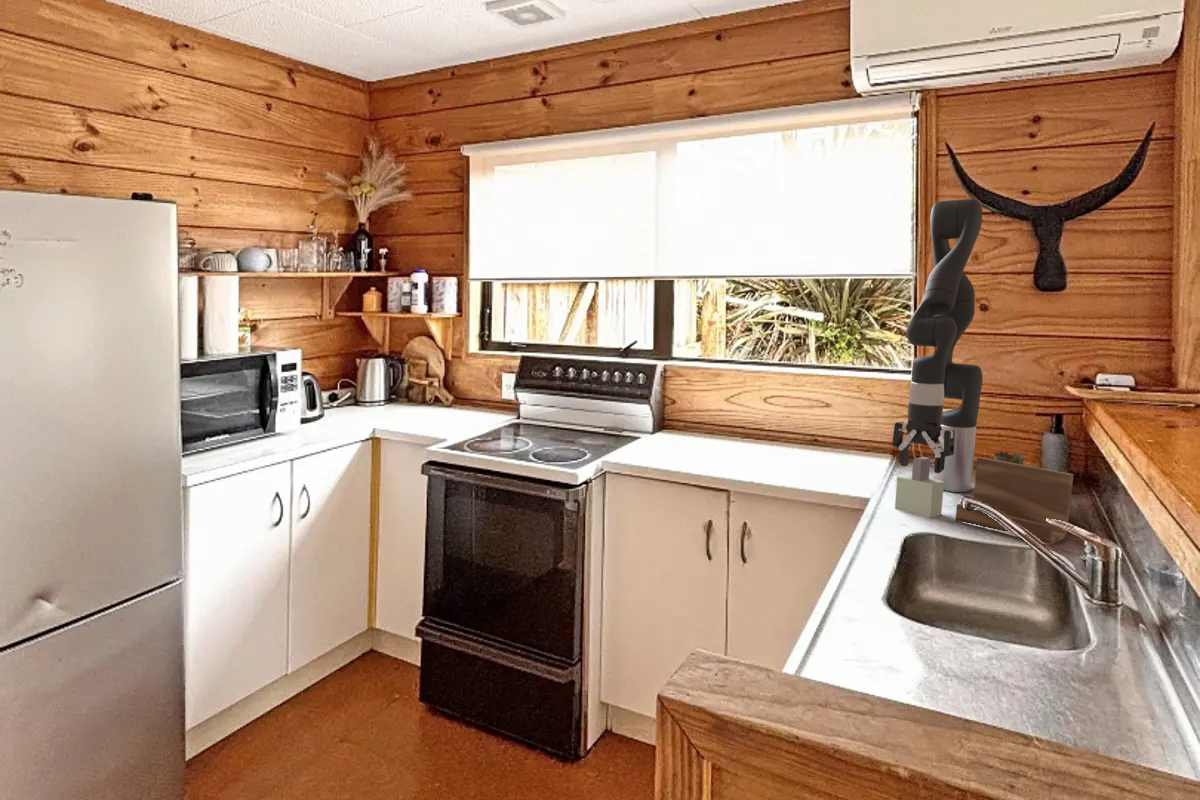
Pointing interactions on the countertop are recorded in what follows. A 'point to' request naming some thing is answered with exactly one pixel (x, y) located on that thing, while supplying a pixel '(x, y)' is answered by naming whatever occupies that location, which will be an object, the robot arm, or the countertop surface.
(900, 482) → the tab block
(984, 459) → the wooden tablet stand
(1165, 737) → the countertop surface
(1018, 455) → the grey-green lumpy piece
